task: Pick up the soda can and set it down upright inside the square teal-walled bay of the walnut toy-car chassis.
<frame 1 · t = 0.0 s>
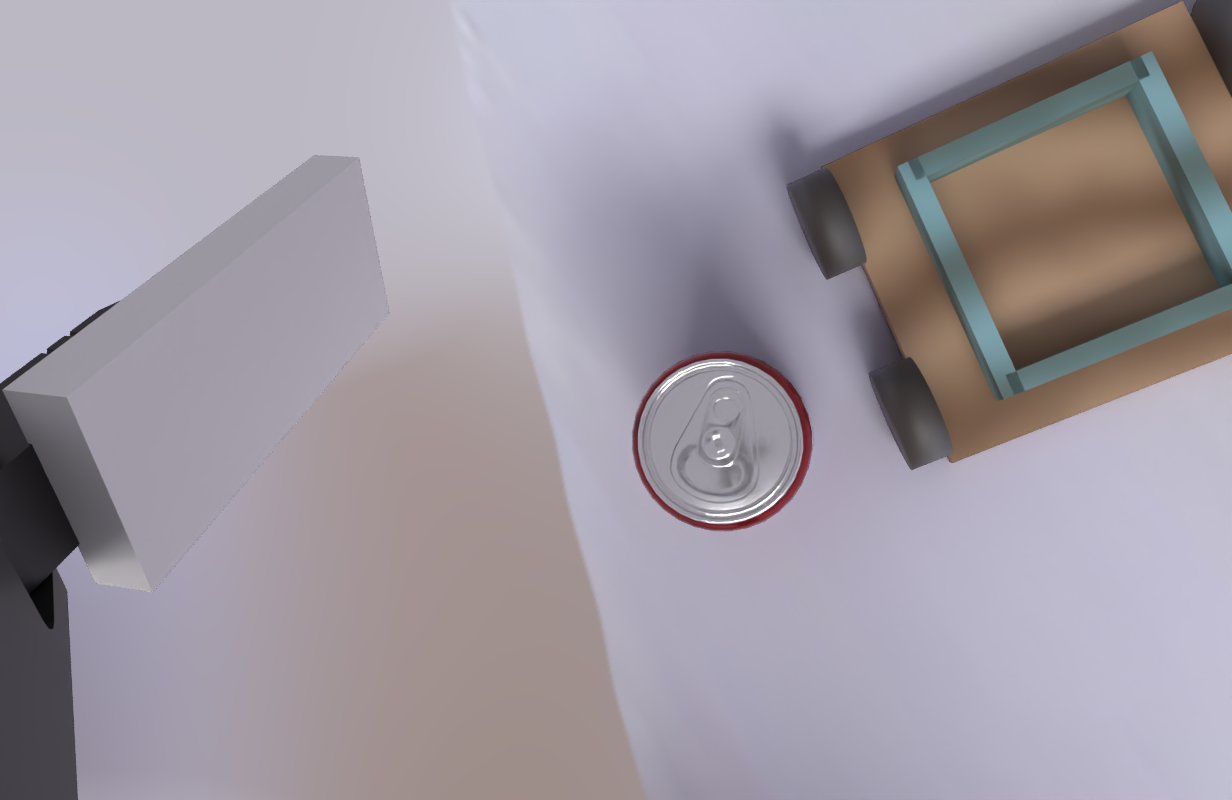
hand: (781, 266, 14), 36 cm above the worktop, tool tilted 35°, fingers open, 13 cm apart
soda can: (742, 438, 50), on the worktop
chassis: (1059, 240, 47), on the worktop
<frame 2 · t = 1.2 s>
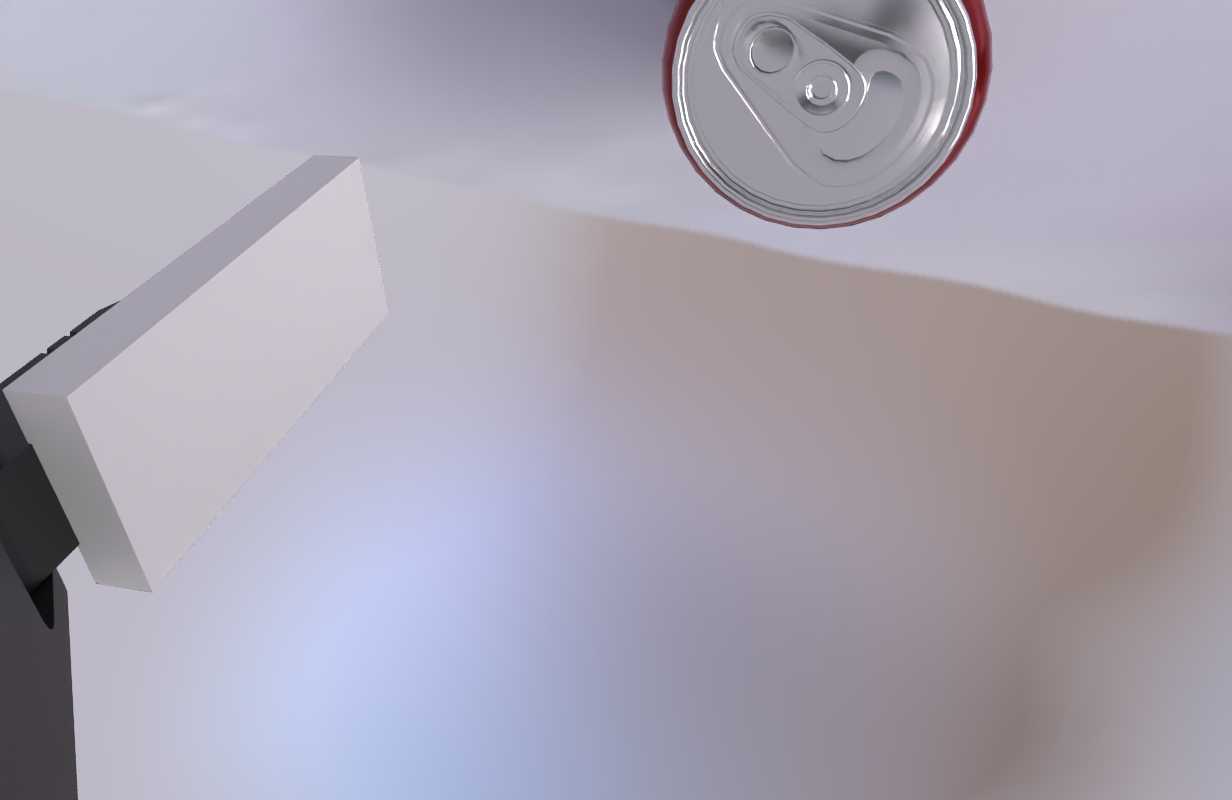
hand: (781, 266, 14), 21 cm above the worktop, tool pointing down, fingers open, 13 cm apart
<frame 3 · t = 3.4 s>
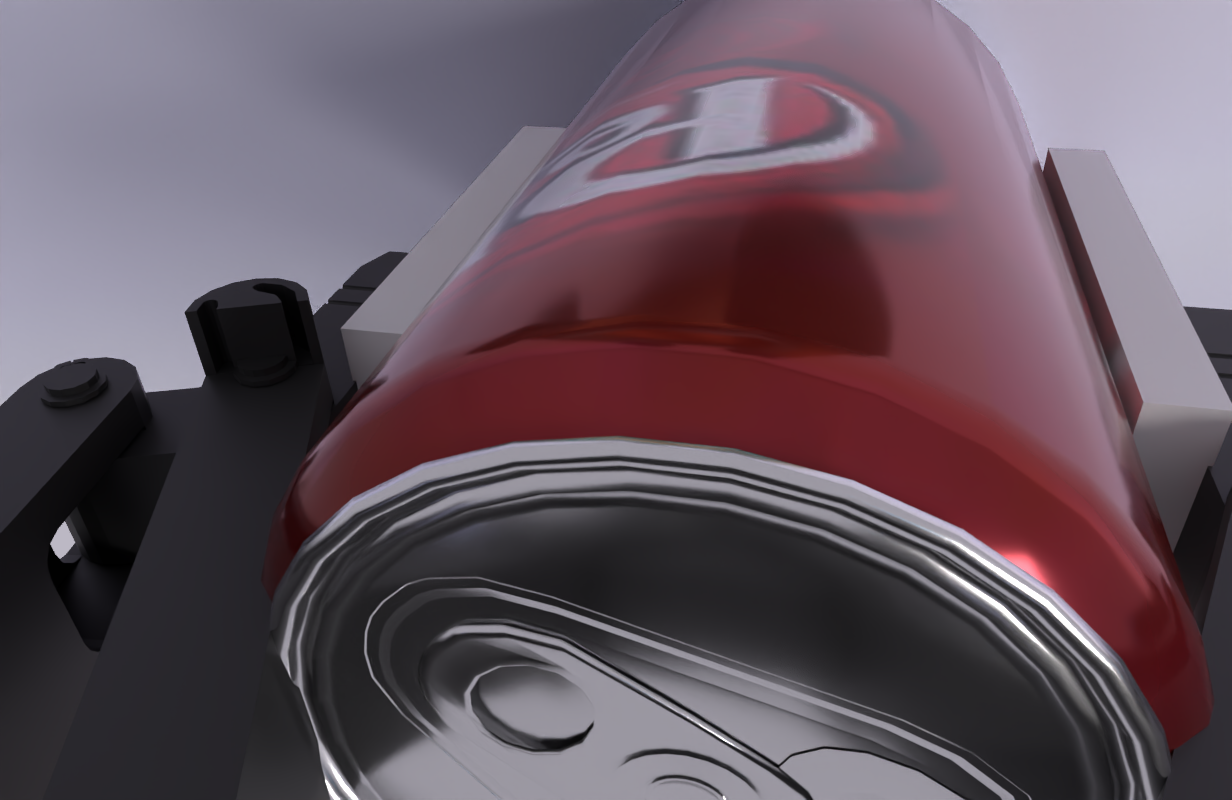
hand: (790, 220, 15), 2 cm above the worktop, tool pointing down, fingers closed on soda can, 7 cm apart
soda can: (799, 177, 17), on the worktop, touching gripper
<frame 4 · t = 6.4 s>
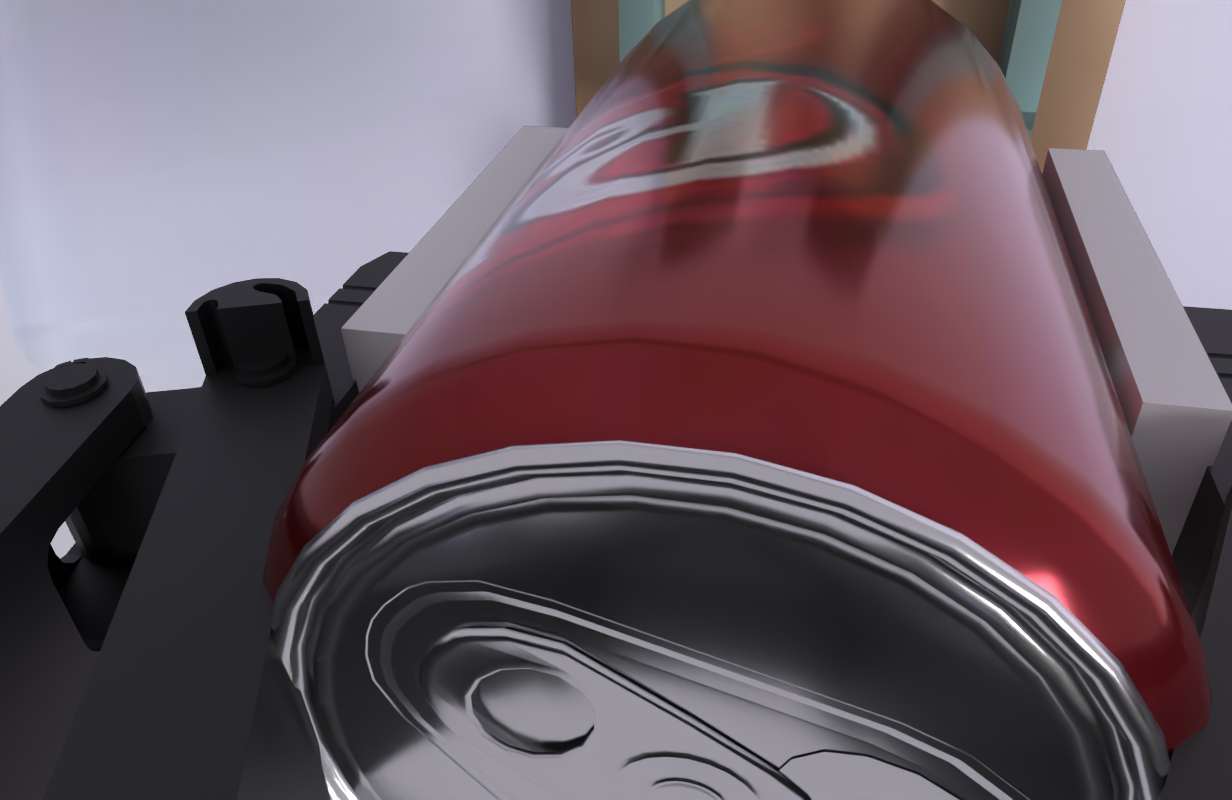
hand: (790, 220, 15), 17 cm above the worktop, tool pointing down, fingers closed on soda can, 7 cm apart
soda can: (798, 179, 17), point 16 cm above the worktop, touching gripper
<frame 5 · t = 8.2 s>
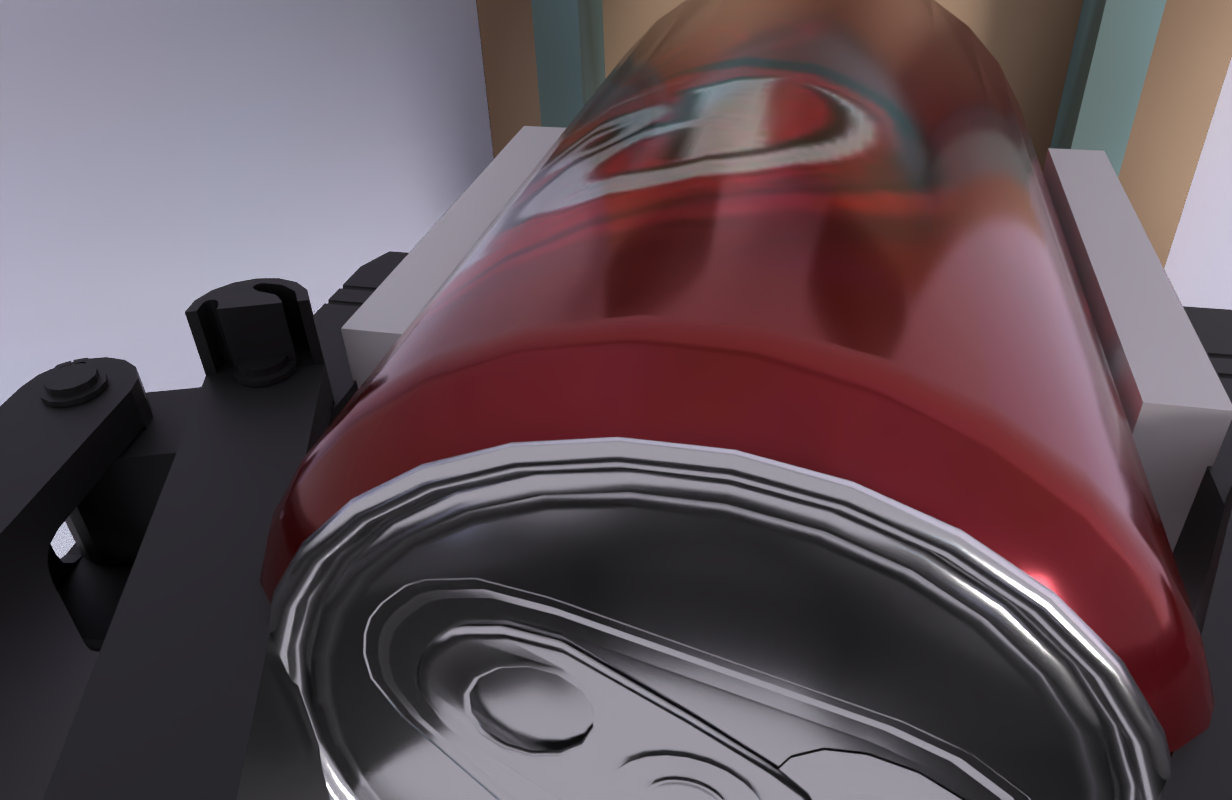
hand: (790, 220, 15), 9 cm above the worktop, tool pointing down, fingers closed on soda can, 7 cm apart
soda can: (798, 178, 17), point 7 cm above the worktop, touching gripper
chassis: (825, 68, 22), on the worktop
when the fingers open (4 cm above the worktop, at t = 9.5 s): soda can drops 1 cm, resting on chassis.
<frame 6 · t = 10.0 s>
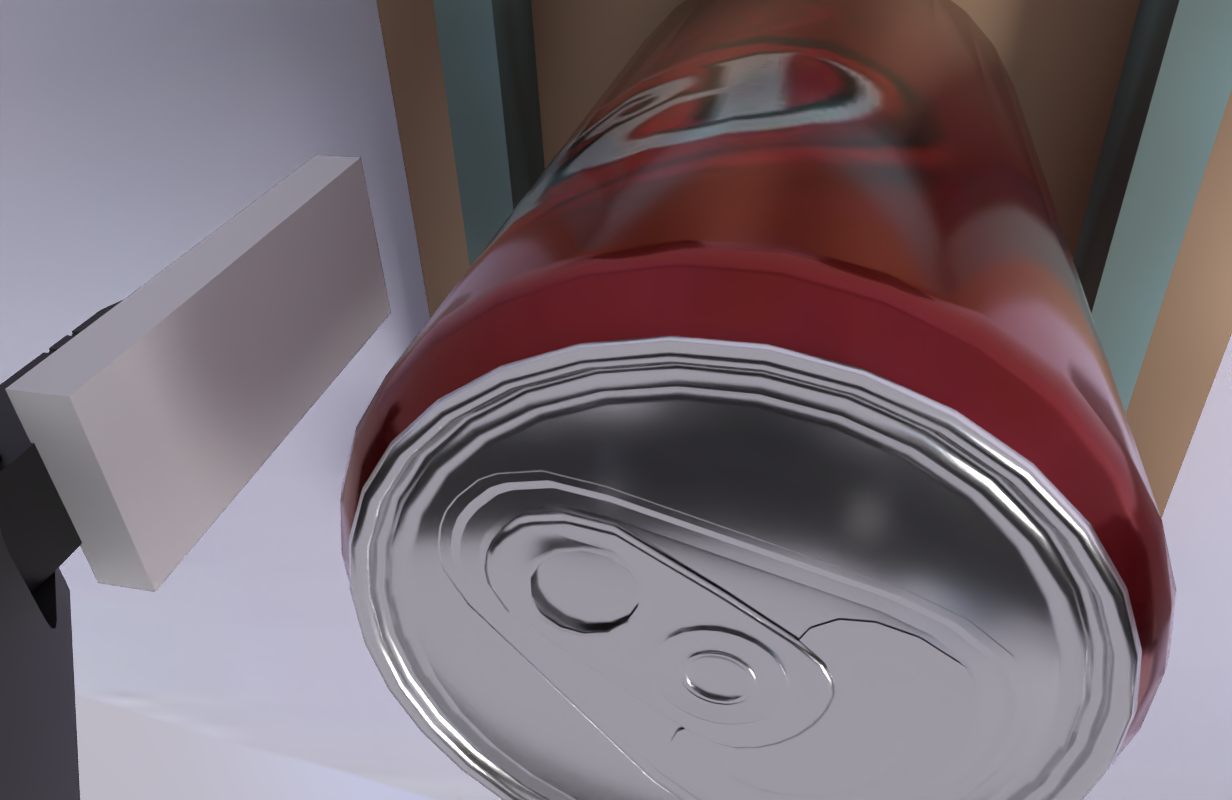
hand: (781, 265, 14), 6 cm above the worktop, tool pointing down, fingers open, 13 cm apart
soda can: (807, 156, 18), point 1 cm above the worktop, touching chassis
chassis: (807, 133, 19), on the worktop
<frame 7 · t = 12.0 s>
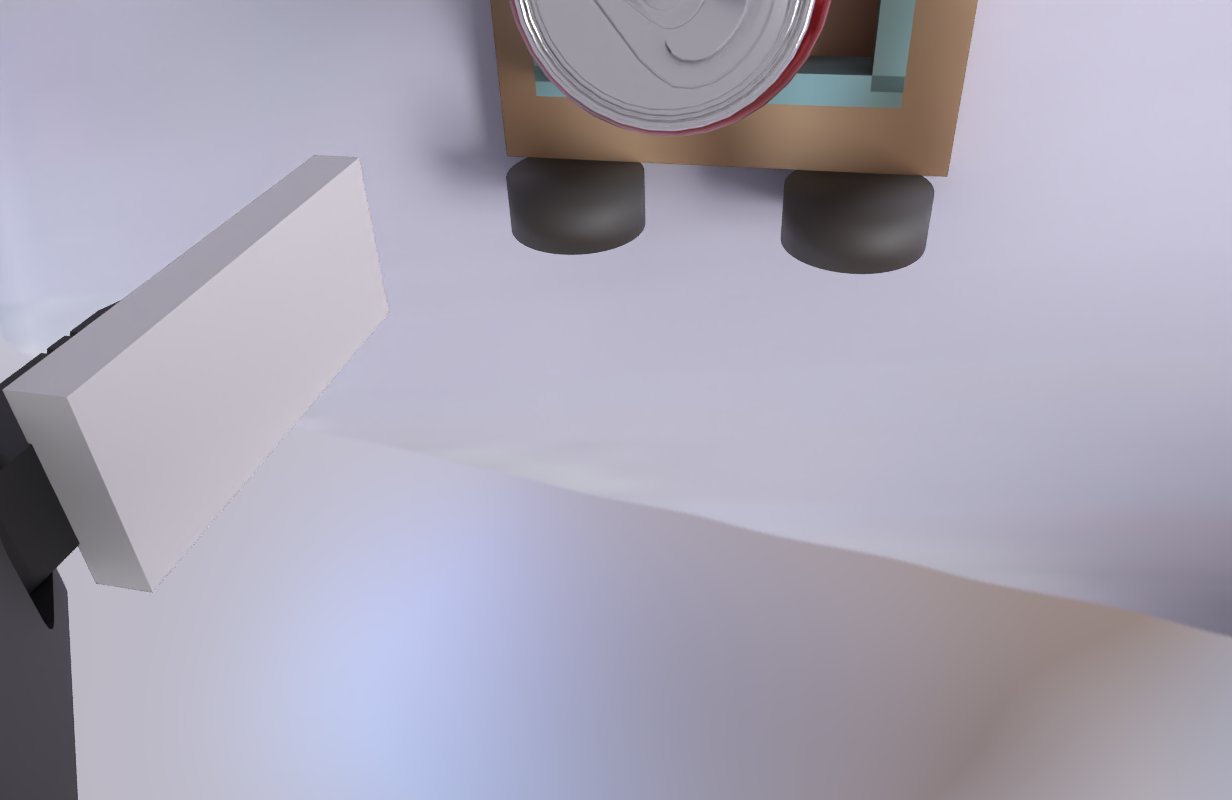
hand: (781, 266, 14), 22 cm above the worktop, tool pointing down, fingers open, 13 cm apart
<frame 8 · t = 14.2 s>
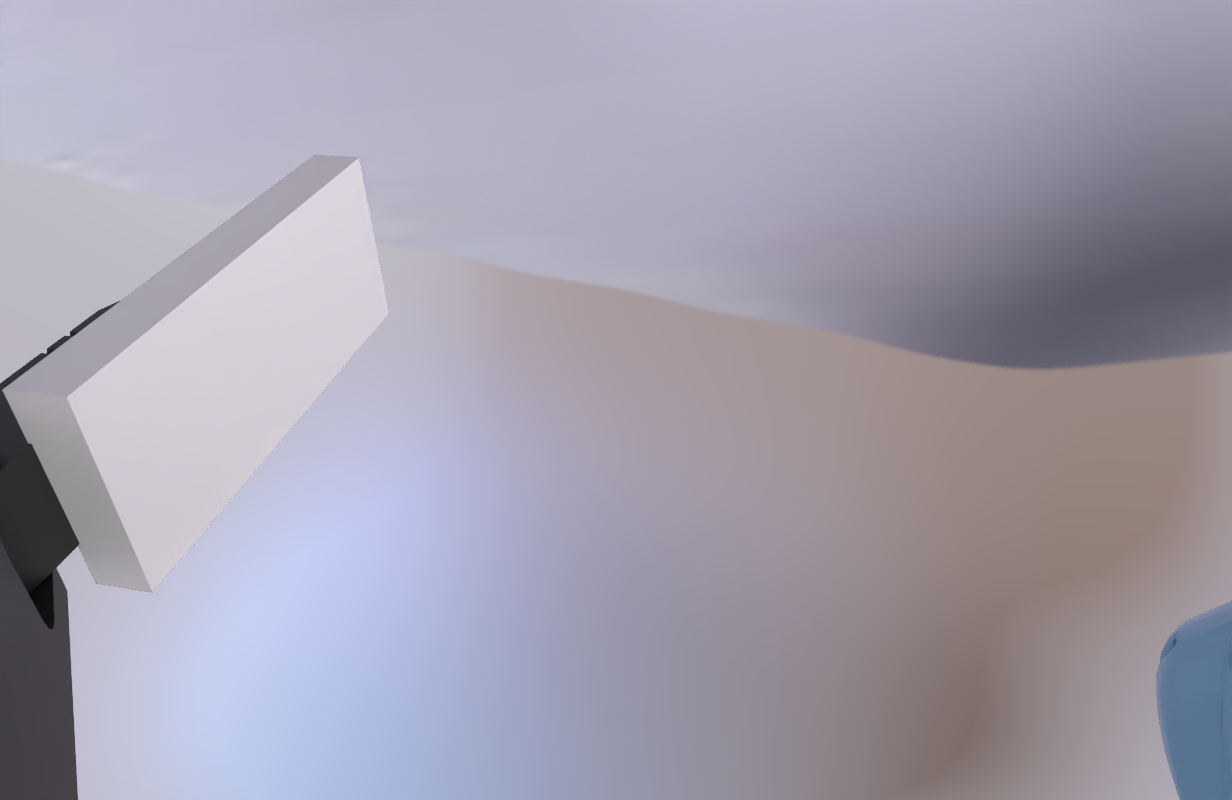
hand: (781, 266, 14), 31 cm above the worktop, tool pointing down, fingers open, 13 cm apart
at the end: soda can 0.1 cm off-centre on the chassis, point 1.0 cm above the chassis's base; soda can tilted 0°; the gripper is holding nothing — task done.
